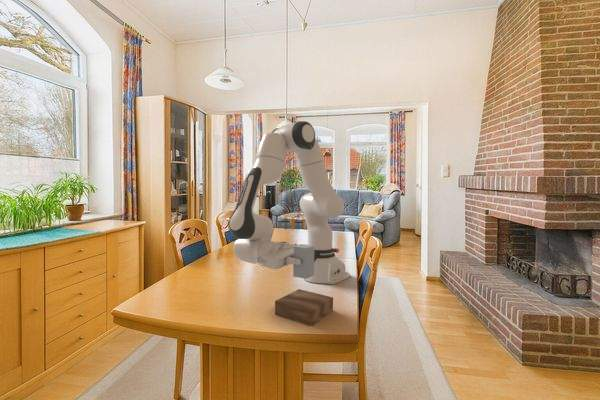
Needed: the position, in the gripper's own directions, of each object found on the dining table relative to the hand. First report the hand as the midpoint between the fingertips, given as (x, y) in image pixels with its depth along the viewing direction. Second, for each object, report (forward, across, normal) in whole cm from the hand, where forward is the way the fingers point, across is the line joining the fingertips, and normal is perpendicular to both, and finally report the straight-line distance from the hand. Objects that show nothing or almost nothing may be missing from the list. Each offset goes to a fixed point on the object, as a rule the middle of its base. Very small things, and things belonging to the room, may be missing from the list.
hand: (306, 259), depth 102 cm
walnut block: (0, 0, +18) cm, 18 cm away
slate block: (-1, 0, +6) cm, 6 cm away
